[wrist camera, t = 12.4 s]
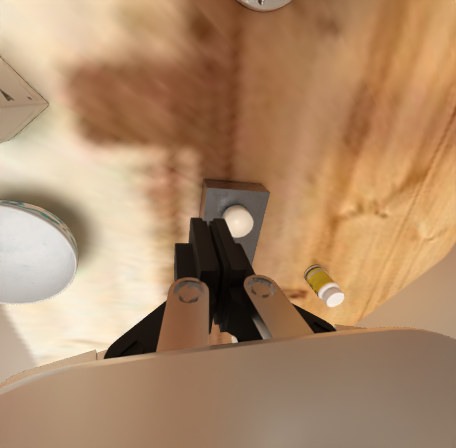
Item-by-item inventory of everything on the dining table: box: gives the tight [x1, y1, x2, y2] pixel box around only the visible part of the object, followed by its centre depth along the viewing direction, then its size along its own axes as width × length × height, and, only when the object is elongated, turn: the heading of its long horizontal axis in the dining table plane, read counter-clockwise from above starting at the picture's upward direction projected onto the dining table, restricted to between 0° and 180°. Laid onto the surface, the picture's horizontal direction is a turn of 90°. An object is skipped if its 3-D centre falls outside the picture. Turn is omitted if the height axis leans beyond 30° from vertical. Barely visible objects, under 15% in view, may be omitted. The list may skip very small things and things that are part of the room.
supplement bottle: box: [304, 265, 344, 307], centre depth 51 cm, size 5×5×8 cm
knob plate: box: [199, 179, 270, 266], centre depth 43 cm, size 24×10×4 cm, turn 171°
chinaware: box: [0, 201, 78, 304], centre depth 32 cm, size 15×15×8 cm
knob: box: [222, 205, 253, 238], centre depth 38 cm, size 4×4×6 cm
